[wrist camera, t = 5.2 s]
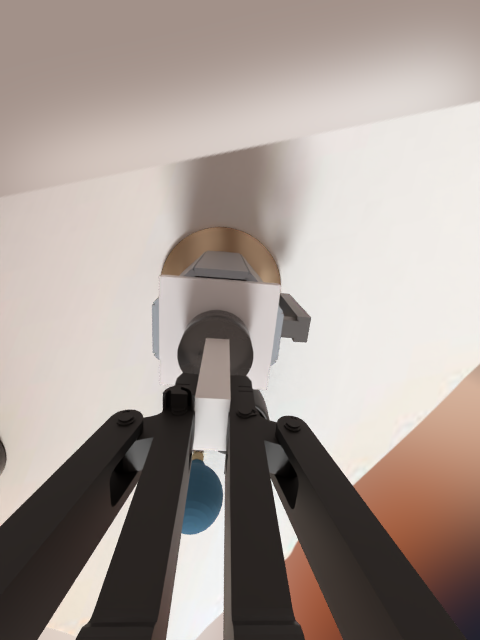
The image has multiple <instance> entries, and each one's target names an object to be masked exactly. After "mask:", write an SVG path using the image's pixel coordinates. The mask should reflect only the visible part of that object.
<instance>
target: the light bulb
mask: <svg viewBox="0 0 480 640" xmlns="http://www.w3.org/2000/svg"><path fill="white" fill-rule="evenodd" d="M203 457H204V456H203V454H202V453H201V452H195V453H193V455H192V463H191V470H190V477H189V484H188V491H187V497H186V504H185V511H184V518H183V525H182V532H181V533H183V534H189V535H191V534H197V533H199V532H202V531H204V530H206V529H207V528H208V527H209V526H210V525H211V524H212V523H213V522H214V521H215V519H216V518H217V516H218V515H219V512H220V509H221V506H222V500H223V490H222V485H221V482H220V480H219V478H218V476H217V475H216V473H215V472H214V471H213V470H212V469H211V468H209V467H208V466H206V465H205V464H204V462H203Z"/></svg>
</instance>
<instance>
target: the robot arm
mask: <svg viewBox="0 0 480 640" xmlns="http://www.w3.org/2000/svg"><path fill="white" fill-rule="evenodd" d="M192 450H209V451H226V458H225V469H224V474H225V535H224V631H223V638H224V639H223V640H305V639H304V634H303V631H302V629H301V626H300V625H299V623H298V622H297V621H296V620H295V617H294V613H293V609H292V603H291V597H290V592H289V585H288V580H287V574H286V567H285V562H284V556H283V550H282V544H281V538H280V532H279V526H278V520H277V514H276V508H275V502H274V497H273V491H272V485H271V480H272V482H273V484H274V487H275V489H276V491H277V493H278V495H279V498H280V500H281V502H282V504H283V507H284V509H285V511H286V513H287V515H288V518H289V520H290V522H291V524H292V527H293V529H294V531H295V533H296V535H297V538H298V540H299V542H300V544H301V547H302V549H303V551H304V553H305V555H306V558H307V560H308V562H309V564H310V567H311V569H312V571H313V573H314V575H315V577H316V580H317V582H318V584H319V587H320V589H321V591H322V593H323V595H324V598H325V600H326V602H327V604H328V607H329V609H330V611H331V613H332V615H333V618H334V620H335V622H336V624H337V627H338V628H339V631H340V633H341V636H342V638H343V640H467V639H466V638H465V636H464V635H463V634H462V632H461V631H460V630H459V628H458V627H457V626H456V625H455V623H454V622H453V620H452V619H451V618H450V616H449V615H448V614H447V612H446V611H445V610H444V608H443V607H442V605H441V604H440V603H439V601H438V600H437V599H436V597H435V596H434V595H433V593H432V592H431V591H430V589H429V588H428V587H427V585H426V584H425V583H424V581H423V580H422V579H421V577H420V576H419V574H418V573H417V572H416V570H415V569H414V568H413V567H412V565H411V564H410V562H409V561H408V560H407V559H406V557H405V556H404V554H403V553H402V552H401V550H400V549H399V548H398V546H397V545H396V544H395V542H394V541H393V540H392V538H391V537H390V536H389V534H388V533H387V531H386V530H385V529H384V528H383V526H382V525H381V523H380V522H379V521H378V519H377V518H376V517H375V515H374V514H373V513H372V511H371V510H370V509H369V507H368V506H367V505H366V503H365V502H364V501H363V499H362V498H361V497H360V495H359V494H358V493H357V491H356V490H355V488H354V487H353V486H352V484H351V483H350V482H349V480H348V479H347V478H346V476H345V475H344V474H343V472H342V471H341V470H340V468H339V467H338V466H337V464H336V463H335V462H334V460H333V459H332V457H331V456H330V455H329V453H328V452H327V451H326V449H325V448H324V447H323V445H322V444H321V443H320V441H319V440H318V439H317V437H316V436H315V435H314V433H313V432H312V431H311V429H310V428H309V427H308V425H307V424H306V423H305V422H304V421H303V420H301V419H299V418H298V417H294V416H283V417H281V418H279V419H278V421H277V422H273V421H270V420H267V419H265V418H263V417H261V416H260V414H259V412H258V410H257V409H256V407H255V400H254V394H253V388H252V381H251V380H250V379H249V378H248V377H247V376H240V375H230V346H229V339H214V338H206V341H205V346H204V351H203V357H202V362H201V368H200V373H199V374H190V373H182V374H181V375H180V376H179V377H177V380H176V383H175V386H173V387H169V388H168V389H166V390H165V391H164V392H163V411H162V413H160V414H158V415H155V416H151V417H145V418H143V415H142V414H141V413H140V412H139V411H136V410H123V411H120V412H117V413H115V414H114V415H113V416H111V417H110V418H109V419H108V420H107V421H106V422H105V423H104V424H103V425H102V426H101V427H100V428H99V429H98V430H97V431H96V432H95V433H94V434H93V435H92V436H91V437H90V438H89V439H88V440H87V441H86V442H85V443H84V444H83V445H82V446H81V447H80V448H79V449H78V450H77V451H76V452H75V453H74V454H73V455H72V456H71V457H70V458H69V459H68V460H67V461H66V462H65V463H64V464H63V465H62V466H61V467H60V468H59V469H58V470H57V471H56V472H55V473H54V474H53V475H52V476H51V477H50V478H49V479H48V480H47V481H46V482H45V483H44V484H43V485H42V486H41V487H40V488H39V489H38V490H37V491H36V492H35V493H34V494H33V495H32V496H31V497H30V498H28V499H27V500H26V501H25V502H24V503H23V504H22V505H21V506H20V507H19V508H18V509H17V510H16V511H15V512H14V513H13V514H12V515H11V516H10V517H9V518H8V519H7V520H6V521H5V522H4V523H3V524H2V525H1V526H0V640H37V639H38V638H39V636H40V635H41V633H42V632H43V630H44V629H45V627H46V625H47V624H48V622H49V621H50V619H51V618H52V616H53V614H54V613H55V611H56V610H57V608H58V607H59V605H60V603H61V602H62V600H63V599H64V597H65V596H66V594H67V592H68V591H69V589H70V588H71V586H72V585H73V583H74V581H75V580H76V578H77V577H78V575H79V574H80V572H81V570H82V569H83V567H84V566H85V564H86V563H87V561H88V559H89V558H90V556H91V555H92V553H93V552H94V550H95V549H96V547H97V545H98V544H99V542H100V541H101V539H102V538H103V536H104V534H105V533H106V531H107V530H108V528H109V527H110V525H111V523H112V522H113V520H114V519H115V517H116V516H117V514H118V512H119V511H120V509H121V508H122V506H123V505H124V503H125V501H126V500H127V498H128V497H129V495H130V494H131V492H132V490H133V489H134V487H135V486H136V484H137V483H138V484H137V487H136V490H135V493H134V496H133V499H132V501H131V504H130V507H129V510H128V513H127V516H126V519H125V522H124V525H123V528H122V531H121V534H120V536H119V539H118V542H117V545H116V548H115V551H114V554H113V557H112V560H111V563H110V566H109V568H108V571H107V574H106V577H105V580H104V583H103V586H102V589H101V592H100V595H99V598H98V601H97V603H96V606H95V609H94V612H93V614H92V617H91V619H90V621H89V622H88V623H87V624H86V625H85V626H83V627H82V629H81V630H80V632H79V634H78V636H77V637H76V640H166V635H167V628H168V621H169V614H170V607H171V600H172V593H173V587H174V580H175V573H176V566H177V559H178V552H179V545H180V539H181V532H182V525H183V518H184V511H185V504H186V497H187V491H188V484H189V477H190V470H191V463H192ZM5 463H6V456H5V451H4V448H3V446H2V444H1V442H0V475H1V474H2V472H3V470H4V468H5ZM270 478H271V479H270Z"/></svg>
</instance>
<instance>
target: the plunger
mask: <svg viewBox="0 0 480 640" xmlns="http://www.w3.org/2000/svg"><path fill="white" fill-rule="evenodd" d="M200 277H201V278H214V279H227V280H240V281H244V280H243V279H231V278H218V277H205V276H200ZM206 338H214V339H229V346H230V375H240V376H246V375H247V374H248V372H249V371H250V369H251V366H252V363H253V355H254V354H253V347H252V343H251V338H250V334H249V331H248V328H247V327H246V325H245V324H244V322H243V321H242V320H241V319H240V318H239V317H237V316H236V315H234V314H232V313H230V312H227V311H223V310H209V311H205V312H203V313H200V314H199V315H197V316H196V317H194V318H193V319H192V320H191V321H190V322H189V323H188V325H187V327H186V328H185V331H184V333H183V336H182V338H181V341H180V343H179V346H178V351H177V359H178V364H179V367H180V369H181V371H182V372H183V373H190V374H199V373H200V368H201V362H202V357H203V351H204V346H205V341H206Z"/></svg>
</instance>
